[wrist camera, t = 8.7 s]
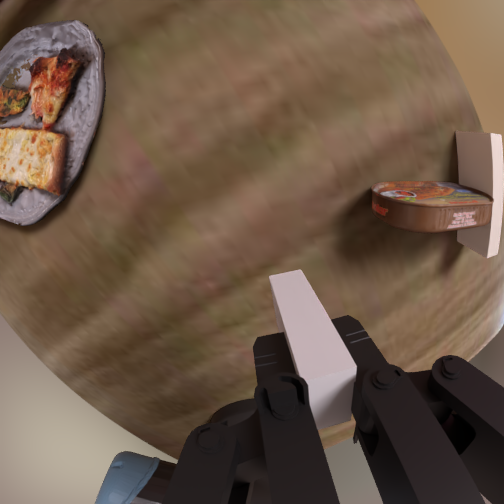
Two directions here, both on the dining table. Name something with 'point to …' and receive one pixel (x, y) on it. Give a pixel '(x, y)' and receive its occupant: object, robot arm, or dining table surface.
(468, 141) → the board
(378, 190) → the tin
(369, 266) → the dining table surface
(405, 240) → the dining table surface
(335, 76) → the dining table surface
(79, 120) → the food plate
